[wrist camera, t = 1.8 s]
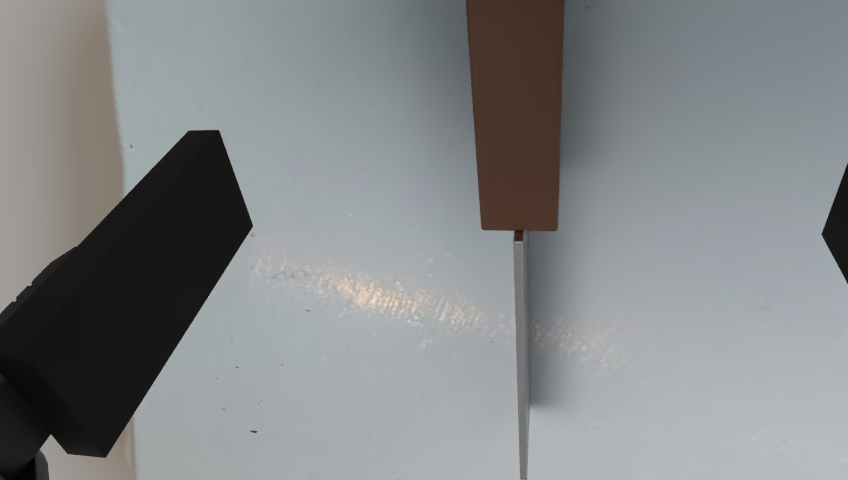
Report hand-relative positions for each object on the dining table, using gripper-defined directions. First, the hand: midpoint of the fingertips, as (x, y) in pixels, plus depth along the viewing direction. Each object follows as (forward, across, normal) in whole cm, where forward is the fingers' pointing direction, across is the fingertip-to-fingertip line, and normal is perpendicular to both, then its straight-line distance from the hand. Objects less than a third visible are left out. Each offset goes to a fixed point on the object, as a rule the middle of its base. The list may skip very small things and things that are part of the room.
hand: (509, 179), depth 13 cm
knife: (+8, 0, -7) cm, 10 cm away
